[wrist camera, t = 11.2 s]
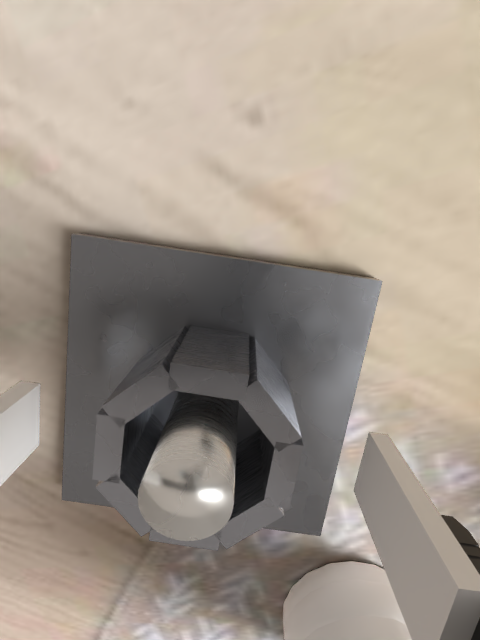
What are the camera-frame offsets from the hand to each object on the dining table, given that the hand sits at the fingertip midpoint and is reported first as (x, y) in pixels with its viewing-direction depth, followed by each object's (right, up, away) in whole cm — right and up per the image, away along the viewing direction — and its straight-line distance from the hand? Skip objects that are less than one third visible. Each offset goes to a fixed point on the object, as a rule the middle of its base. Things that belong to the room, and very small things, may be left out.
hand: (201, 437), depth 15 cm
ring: (0, +1, +4) cm, 4 cm away
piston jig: (0, +1, +5) cm, 5 cm away
